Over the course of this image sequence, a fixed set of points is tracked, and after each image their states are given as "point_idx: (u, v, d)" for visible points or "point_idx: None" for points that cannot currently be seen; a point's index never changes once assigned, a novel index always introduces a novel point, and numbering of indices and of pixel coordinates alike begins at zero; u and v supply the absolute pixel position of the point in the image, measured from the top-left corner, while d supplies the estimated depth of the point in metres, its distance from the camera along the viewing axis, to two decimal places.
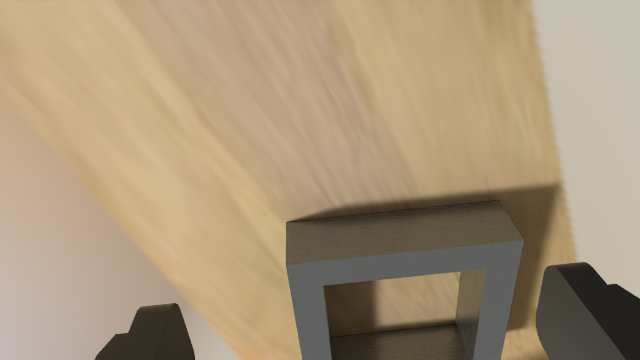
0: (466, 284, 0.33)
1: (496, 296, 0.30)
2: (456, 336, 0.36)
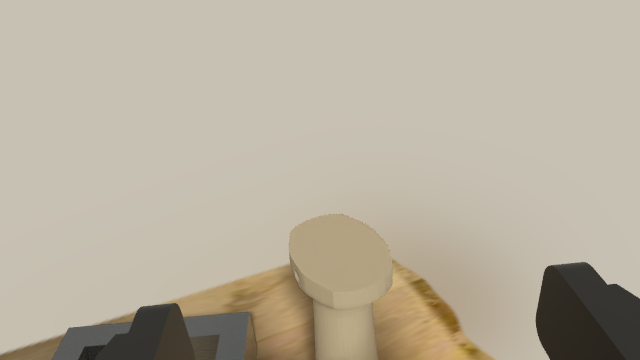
0: None
1: (123, 333, 0.35)
2: None
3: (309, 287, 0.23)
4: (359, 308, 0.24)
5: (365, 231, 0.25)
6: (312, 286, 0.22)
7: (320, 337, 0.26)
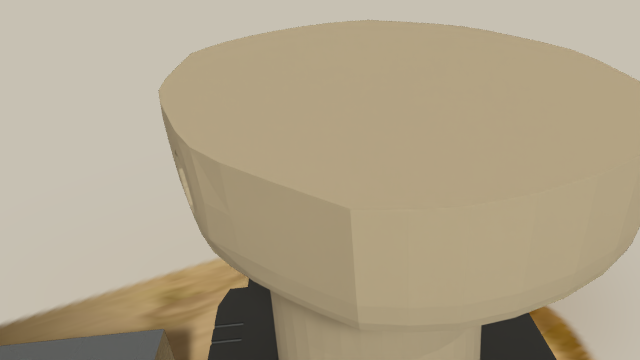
0: None
1: None
2: None
3: (221, 214, 0.04)
4: None
5: (460, 35, 0.07)
6: (231, 201, 0.04)
7: None
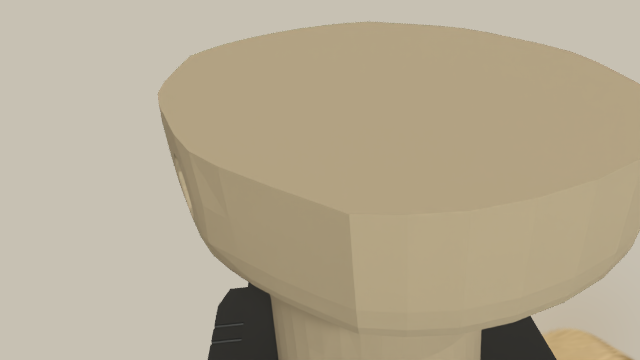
0: None
1: None
2: None
3: (221, 218, 0.04)
4: None
5: (459, 37, 0.07)
6: (233, 204, 0.04)
7: None
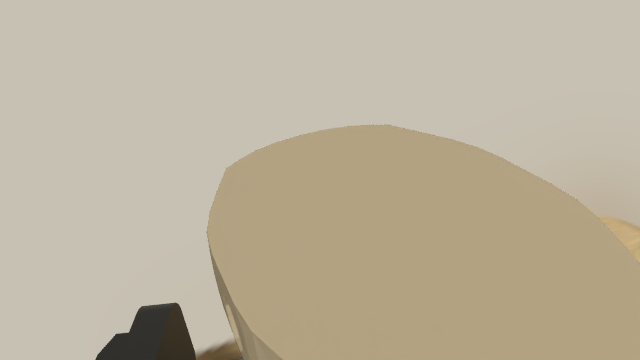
0: None
1: None
2: None
3: None
4: None
5: (475, 163, 0.08)
6: None
7: None
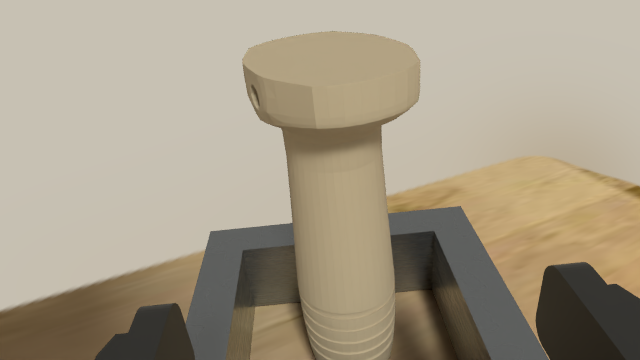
0: None
1: (292, 234, 0.25)
2: (433, 276, 0.25)
3: (273, 100, 0.13)
4: (362, 156, 0.14)
5: (370, 38, 0.15)
6: (277, 93, 0.13)
7: (301, 220, 0.16)
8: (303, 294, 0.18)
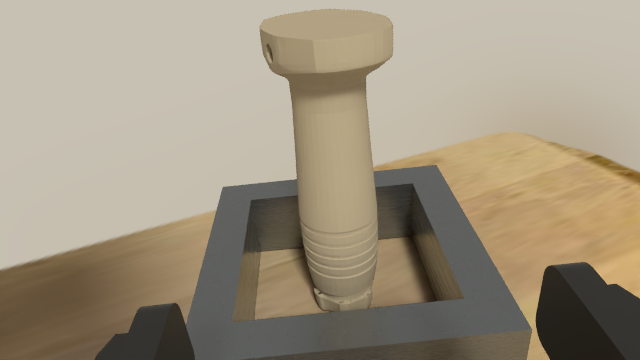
0: None
1: (292, 188, 0.29)
2: (413, 223, 0.30)
3: (284, 53, 0.17)
4: (350, 101, 0.19)
5: (358, 13, 0.20)
6: (287, 47, 0.17)
7: (302, 155, 0.20)
8: (303, 220, 0.22)
